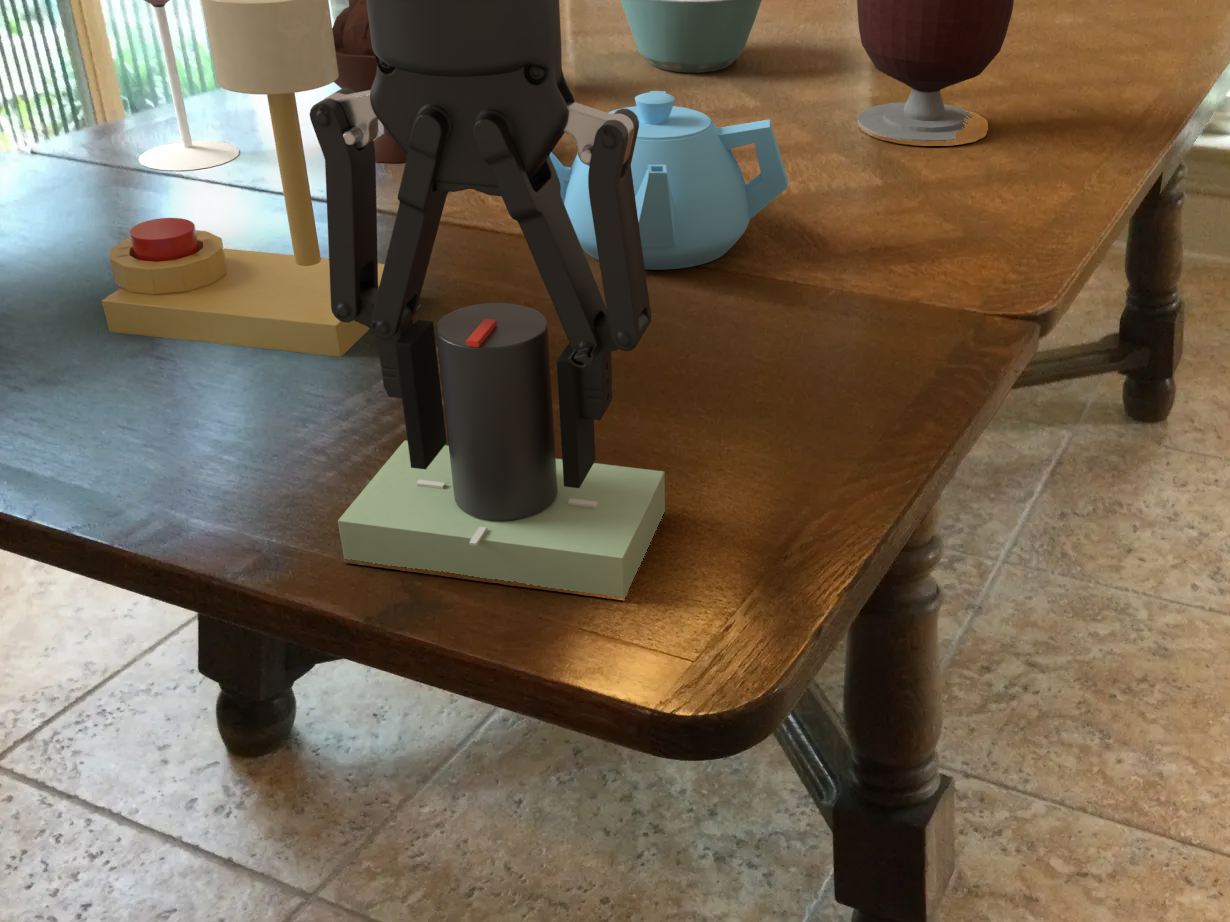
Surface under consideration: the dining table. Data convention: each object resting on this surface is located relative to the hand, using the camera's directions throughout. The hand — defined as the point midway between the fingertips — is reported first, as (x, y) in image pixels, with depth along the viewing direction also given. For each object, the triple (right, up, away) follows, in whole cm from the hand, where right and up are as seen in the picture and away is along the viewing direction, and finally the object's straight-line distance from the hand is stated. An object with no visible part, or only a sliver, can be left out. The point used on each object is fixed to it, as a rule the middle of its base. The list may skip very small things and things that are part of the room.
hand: (503, 463), depth 65 cm
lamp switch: (-26, +15, +23) cm, 38 cm away
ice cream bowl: (-18, +30, +53) cm, 64 cm away
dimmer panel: (0, -4, +2) cm, 4 cm away
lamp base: (-20, +11, +24) cm, 34 cm away
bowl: (+7, +48, +81) cm, 94 cm away
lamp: (-16, +14, +22) cm, 30 cm away
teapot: (+5, +19, +36) cm, 41 cm away
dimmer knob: (0, -1, +1) cm, 2 cm away
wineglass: (-36, +30, +52) cm, 69 cm away
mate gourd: (+30, +35, +62) cm, 78 cm away
